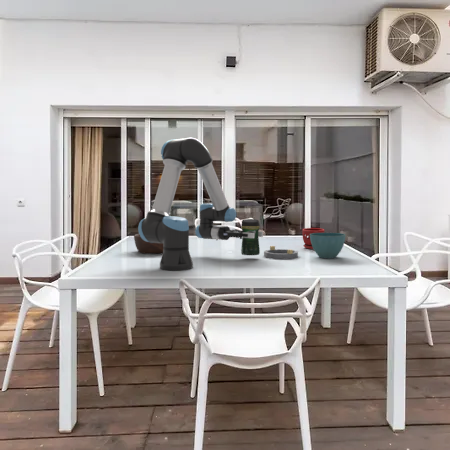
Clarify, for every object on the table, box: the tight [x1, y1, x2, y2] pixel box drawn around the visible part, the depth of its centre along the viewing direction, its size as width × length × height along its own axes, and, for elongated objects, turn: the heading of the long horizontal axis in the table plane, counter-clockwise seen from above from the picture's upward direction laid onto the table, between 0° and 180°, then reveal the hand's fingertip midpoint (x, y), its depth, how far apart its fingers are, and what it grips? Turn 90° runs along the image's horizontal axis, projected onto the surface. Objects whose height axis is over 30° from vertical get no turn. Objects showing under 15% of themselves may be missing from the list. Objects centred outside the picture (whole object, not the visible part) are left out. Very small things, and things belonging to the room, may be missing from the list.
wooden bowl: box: [133, 233, 163, 255], centre depth 236 cm, size 25×25×10 cm
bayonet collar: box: [263, 245, 299, 260], centre depth 215 cm, size 18×18×4 cm
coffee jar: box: [240, 218, 260, 256], centre depth 207 cm, size 10×8×19 cm
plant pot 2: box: [310, 232, 347, 259], centre depth 211 cm, size 18×18×12 cm
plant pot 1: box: [301, 227, 325, 250], centre depth 244 cm, size 13×13×12 cm
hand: (258, 234), depth 205 cm, fingers closed on coffee jar, 9 cm apart
